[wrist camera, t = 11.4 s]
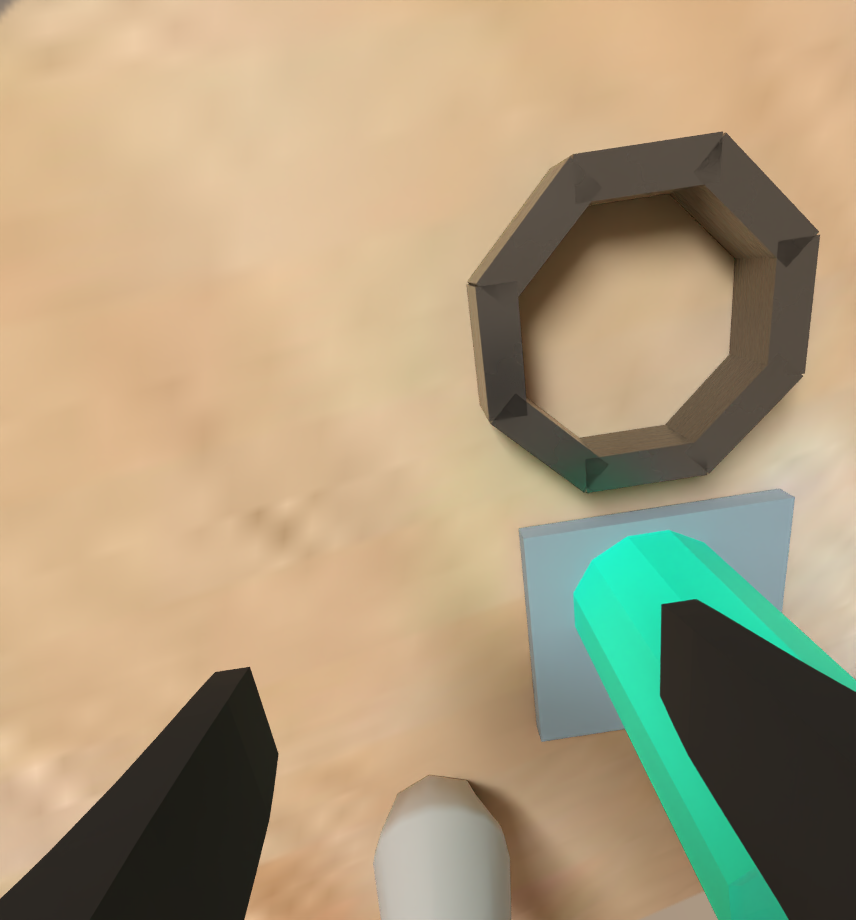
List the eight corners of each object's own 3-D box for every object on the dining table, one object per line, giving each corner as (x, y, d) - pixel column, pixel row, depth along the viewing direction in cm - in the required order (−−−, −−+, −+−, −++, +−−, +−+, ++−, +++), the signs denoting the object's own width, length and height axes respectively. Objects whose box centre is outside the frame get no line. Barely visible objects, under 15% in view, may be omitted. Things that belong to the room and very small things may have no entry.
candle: (745, 536, 20) (1201, 893, 9) (698, 665, 22) (1018, 1090, 11) (590, 523, 19) (859, 886, 8) (557, 656, 21) (736, 1096, 10)
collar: (781, 132, 16) (833, 115, 14) (756, 442, 19) (794, 461, 18) (455, 182, 16) (462, 171, 14) (488, 483, 19) (498, 506, 17)
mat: (779, 488, 20) (794, 497, 19) (759, 692, 24) (770, 706, 23) (518, 528, 20) (523, 538, 19) (537, 726, 24) (541, 741, 23)
